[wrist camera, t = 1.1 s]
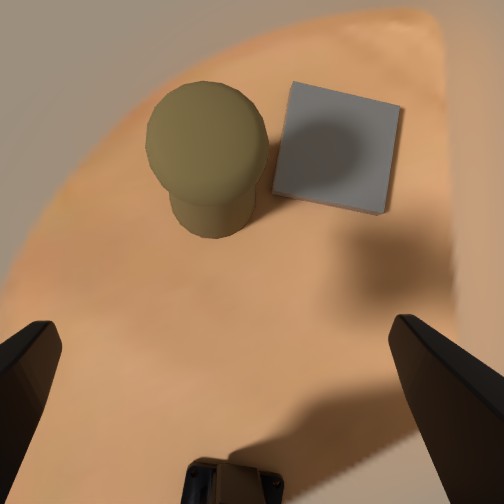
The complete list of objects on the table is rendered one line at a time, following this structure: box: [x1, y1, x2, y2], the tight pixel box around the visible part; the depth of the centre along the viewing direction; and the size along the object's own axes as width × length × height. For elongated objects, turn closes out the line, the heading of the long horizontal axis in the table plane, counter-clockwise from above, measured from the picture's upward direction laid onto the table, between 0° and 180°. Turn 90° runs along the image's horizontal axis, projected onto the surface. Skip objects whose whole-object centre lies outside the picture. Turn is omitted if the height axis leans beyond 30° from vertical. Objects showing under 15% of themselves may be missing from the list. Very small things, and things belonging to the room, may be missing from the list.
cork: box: [145, 81, 269, 239], centre depth 18 cm, size 6×6×11 cm
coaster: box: [271, 81, 400, 216], centre depth 24 cm, size 8×8×1 cm
